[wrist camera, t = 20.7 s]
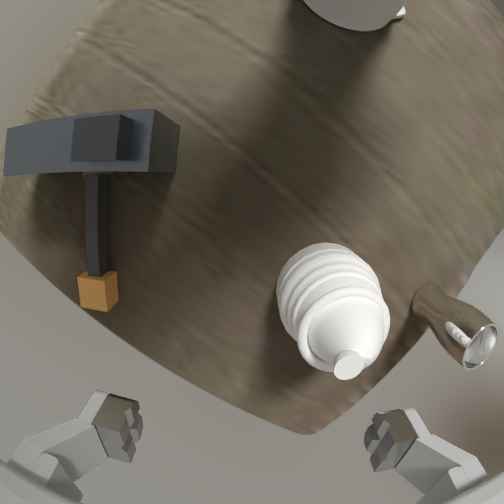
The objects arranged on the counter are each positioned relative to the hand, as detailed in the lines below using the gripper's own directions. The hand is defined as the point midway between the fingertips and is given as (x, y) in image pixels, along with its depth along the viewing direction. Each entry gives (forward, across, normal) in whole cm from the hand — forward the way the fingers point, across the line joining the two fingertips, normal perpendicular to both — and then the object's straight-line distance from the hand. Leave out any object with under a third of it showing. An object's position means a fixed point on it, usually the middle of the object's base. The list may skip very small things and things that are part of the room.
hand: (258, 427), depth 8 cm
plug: (+29, +21, +2) cm, 36 cm away
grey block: (+29, +21, -11) cm, 37 cm away
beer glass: (+29, -28, +7) cm, 41 cm away
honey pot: (+29, -10, +6) cm, 32 cm away
